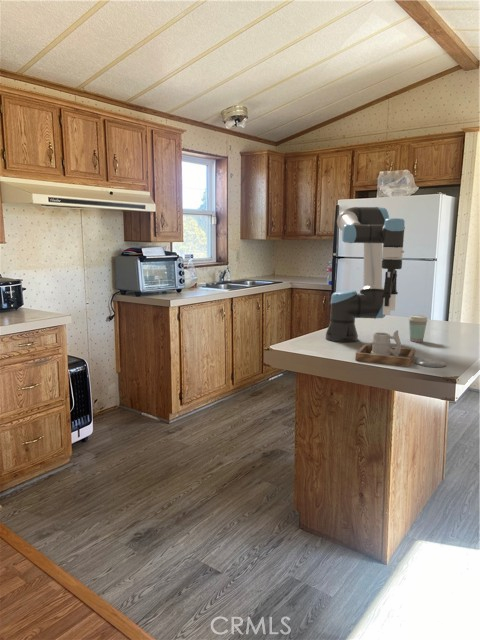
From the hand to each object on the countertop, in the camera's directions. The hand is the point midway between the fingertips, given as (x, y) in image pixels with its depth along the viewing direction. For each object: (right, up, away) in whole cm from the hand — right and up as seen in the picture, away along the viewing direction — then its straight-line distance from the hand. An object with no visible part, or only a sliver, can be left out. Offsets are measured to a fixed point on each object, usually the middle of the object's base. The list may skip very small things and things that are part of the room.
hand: (388, 312), depth 191 cm
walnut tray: (0, -18, +3) cm, 19 cm away
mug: (0, -19, +3) cm, 19 cm away
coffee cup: (+25, -13, +38) cm, 48 cm away
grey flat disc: (+15, -20, -5) cm, 25 cm away
